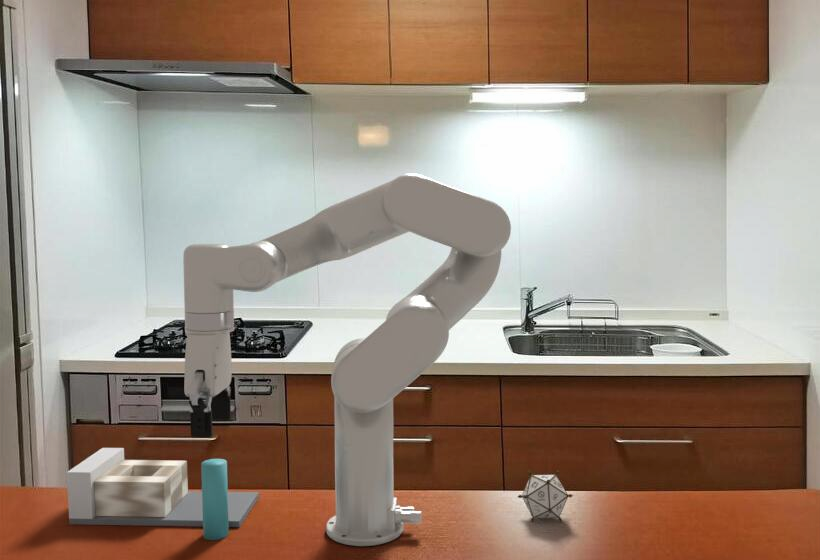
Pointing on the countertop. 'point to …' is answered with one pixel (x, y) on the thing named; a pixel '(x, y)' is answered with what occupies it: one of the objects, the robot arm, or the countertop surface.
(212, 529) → the dowel
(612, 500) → the countertop surface
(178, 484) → the block
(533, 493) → the game die
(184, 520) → the track
